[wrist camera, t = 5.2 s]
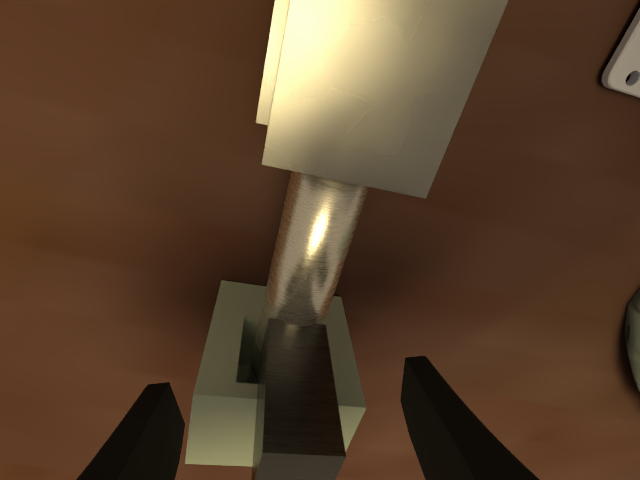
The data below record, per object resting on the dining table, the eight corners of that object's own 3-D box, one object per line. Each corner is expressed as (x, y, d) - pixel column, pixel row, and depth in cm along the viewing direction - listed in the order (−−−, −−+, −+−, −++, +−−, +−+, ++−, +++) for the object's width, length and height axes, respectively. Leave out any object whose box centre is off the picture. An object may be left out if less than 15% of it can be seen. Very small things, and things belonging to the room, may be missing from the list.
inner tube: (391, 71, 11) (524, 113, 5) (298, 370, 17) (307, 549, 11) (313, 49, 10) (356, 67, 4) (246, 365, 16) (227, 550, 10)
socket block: (341, 296, 18) (366, 407, 13) (321, 352, 20) (337, 469, 15) (221, 280, 17) (193, 394, 12) (212, 340, 19) (184, 463, 13)
